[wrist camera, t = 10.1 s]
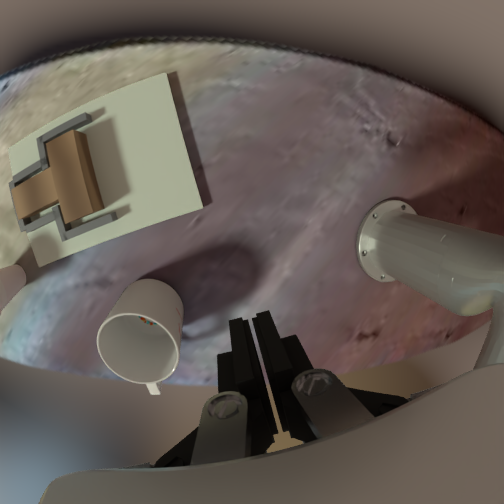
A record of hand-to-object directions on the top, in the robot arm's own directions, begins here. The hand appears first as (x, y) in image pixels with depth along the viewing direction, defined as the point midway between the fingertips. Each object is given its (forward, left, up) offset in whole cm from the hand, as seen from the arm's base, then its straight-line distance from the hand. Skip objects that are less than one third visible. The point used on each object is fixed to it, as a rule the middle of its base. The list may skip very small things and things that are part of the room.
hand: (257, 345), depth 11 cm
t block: (+18, -13, -24) cm, 33 cm away
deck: (+14, -13, -25) cm, 31 cm away
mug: (+12, +8, -26) cm, 29 cm away
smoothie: (+32, -4, -25) cm, 41 cm away
